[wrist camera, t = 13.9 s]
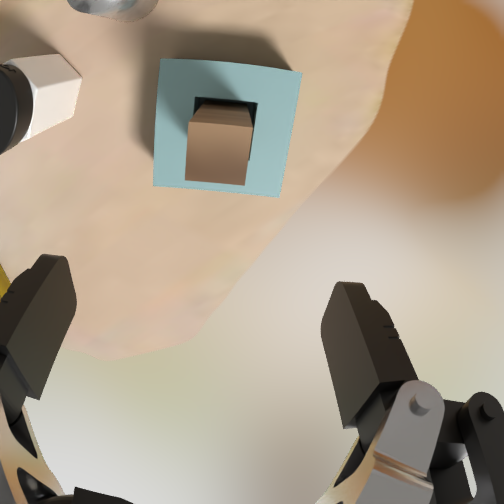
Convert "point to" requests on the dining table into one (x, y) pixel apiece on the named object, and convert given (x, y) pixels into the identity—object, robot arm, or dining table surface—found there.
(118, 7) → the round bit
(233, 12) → the dining table surface
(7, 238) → the dining table surface
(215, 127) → the square peg
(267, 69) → the socket block
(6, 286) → the medication box
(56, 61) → the jar
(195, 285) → the dining table surface
